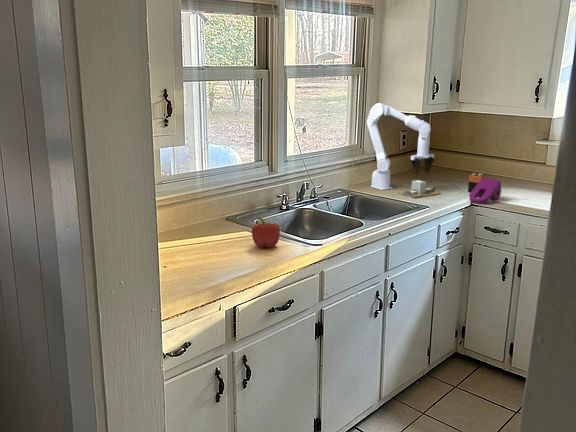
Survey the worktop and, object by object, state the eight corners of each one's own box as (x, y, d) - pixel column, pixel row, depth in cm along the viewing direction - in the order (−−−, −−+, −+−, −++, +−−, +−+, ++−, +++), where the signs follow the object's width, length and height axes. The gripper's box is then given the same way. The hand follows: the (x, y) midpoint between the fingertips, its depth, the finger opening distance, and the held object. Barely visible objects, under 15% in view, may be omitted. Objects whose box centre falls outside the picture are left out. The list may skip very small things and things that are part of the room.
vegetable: (245, 244, 214) (245, 218, 212) (269, 240, 220) (269, 214, 217) (261, 252, 206) (261, 225, 203) (285, 247, 211) (285, 221, 209)
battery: (480, 194, 298) (482, 175, 295) (467, 192, 302) (469, 173, 300) (483, 192, 301) (485, 173, 299) (471, 190, 305) (472, 172, 303)
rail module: (411, 192, 297) (412, 180, 296) (416, 191, 299) (417, 179, 298) (419, 194, 292) (420, 182, 291) (425, 193, 295) (426, 182, 293)
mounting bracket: (486, 216, 280) (501, 194, 290) (484, 202, 275) (500, 180, 285) (467, 212, 286) (483, 191, 296) (465, 198, 282) (482, 177, 291)
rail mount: (398, 193, 296) (399, 188, 296) (424, 190, 306) (424, 184, 305) (414, 198, 287) (414, 192, 287) (440, 194, 297) (440, 188, 296)
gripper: (418, 148, 292) (416, 175, 295) (439, 146, 299) (437, 172, 303) (408, 146, 297) (406, 173, 301) (429, 144, 305) (427, 170, 308)
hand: (421, 172), depth 302 cm, fingers open, 7 cm apart
